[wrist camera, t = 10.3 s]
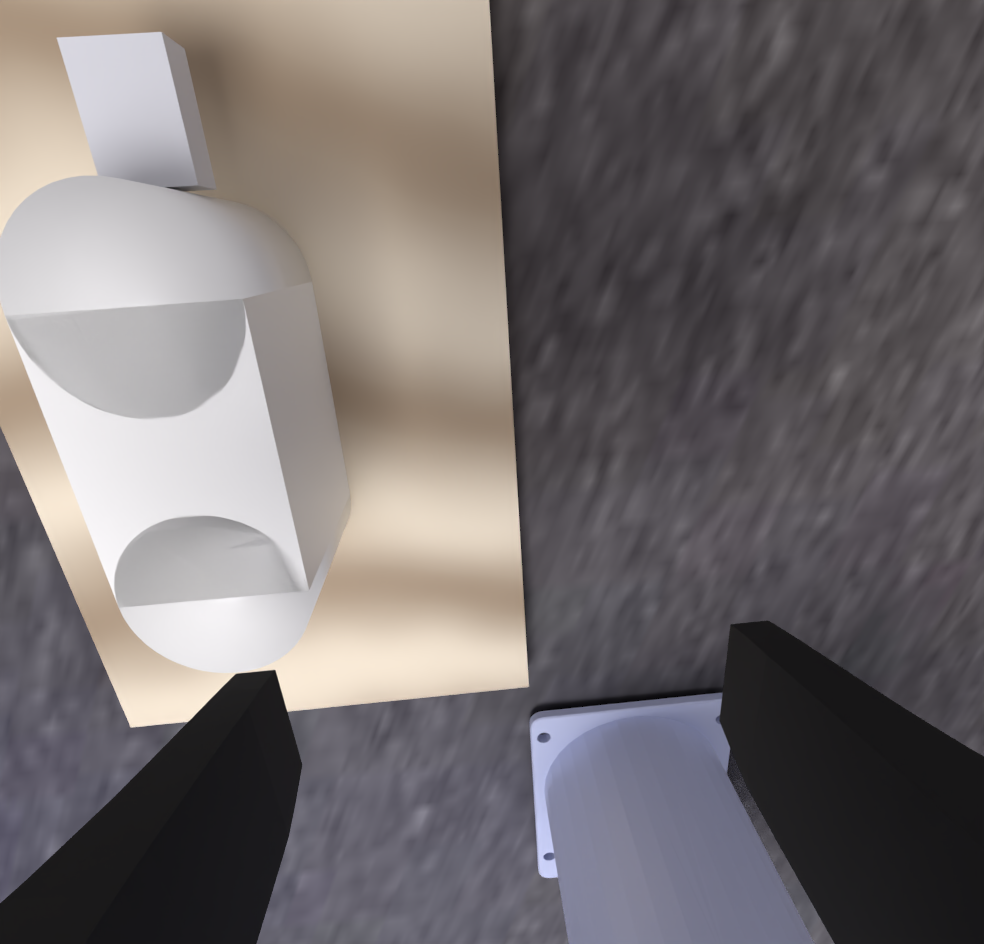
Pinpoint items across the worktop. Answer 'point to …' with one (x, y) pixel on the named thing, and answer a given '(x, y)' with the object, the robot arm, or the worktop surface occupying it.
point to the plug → (178, 370)
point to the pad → (327, 321)
